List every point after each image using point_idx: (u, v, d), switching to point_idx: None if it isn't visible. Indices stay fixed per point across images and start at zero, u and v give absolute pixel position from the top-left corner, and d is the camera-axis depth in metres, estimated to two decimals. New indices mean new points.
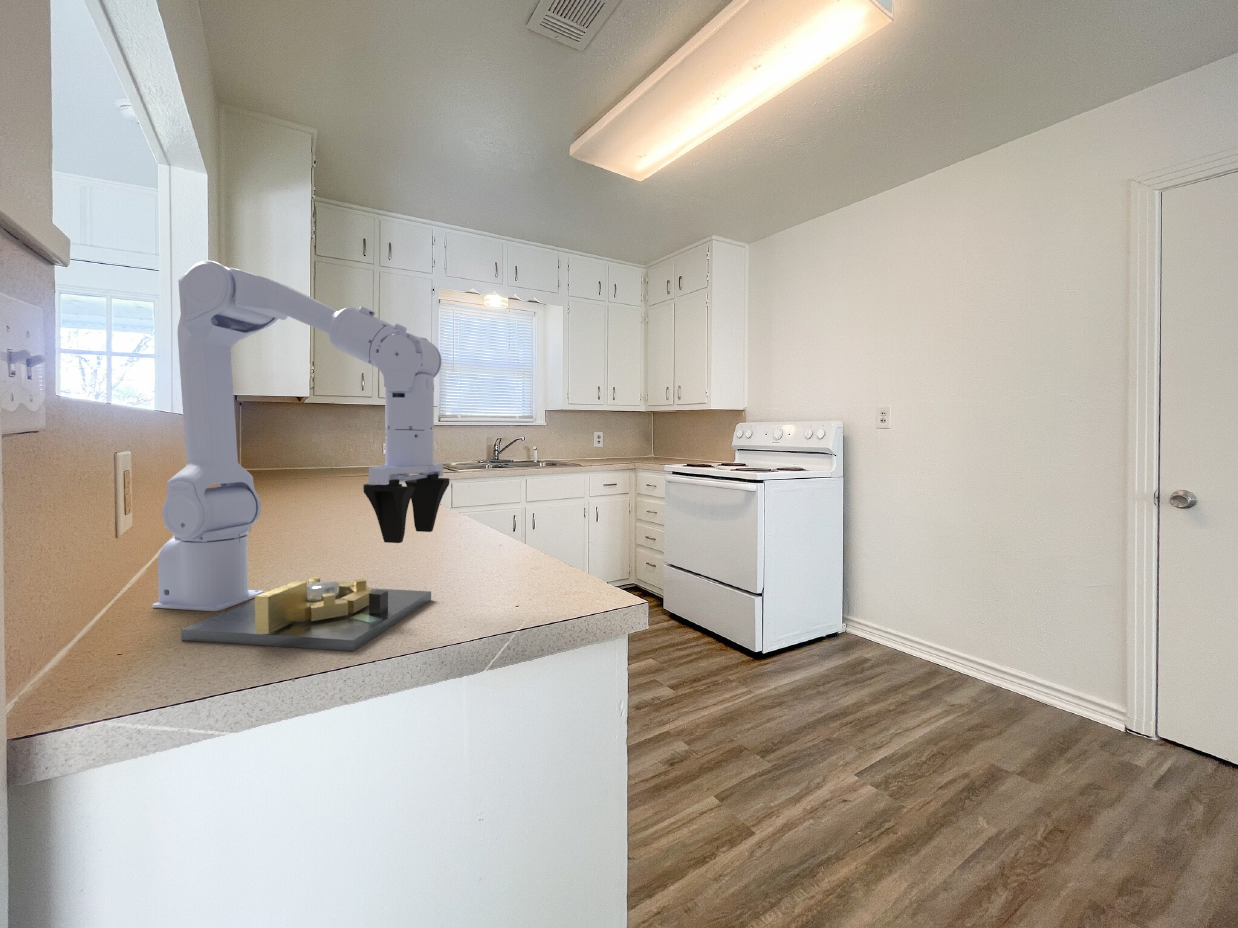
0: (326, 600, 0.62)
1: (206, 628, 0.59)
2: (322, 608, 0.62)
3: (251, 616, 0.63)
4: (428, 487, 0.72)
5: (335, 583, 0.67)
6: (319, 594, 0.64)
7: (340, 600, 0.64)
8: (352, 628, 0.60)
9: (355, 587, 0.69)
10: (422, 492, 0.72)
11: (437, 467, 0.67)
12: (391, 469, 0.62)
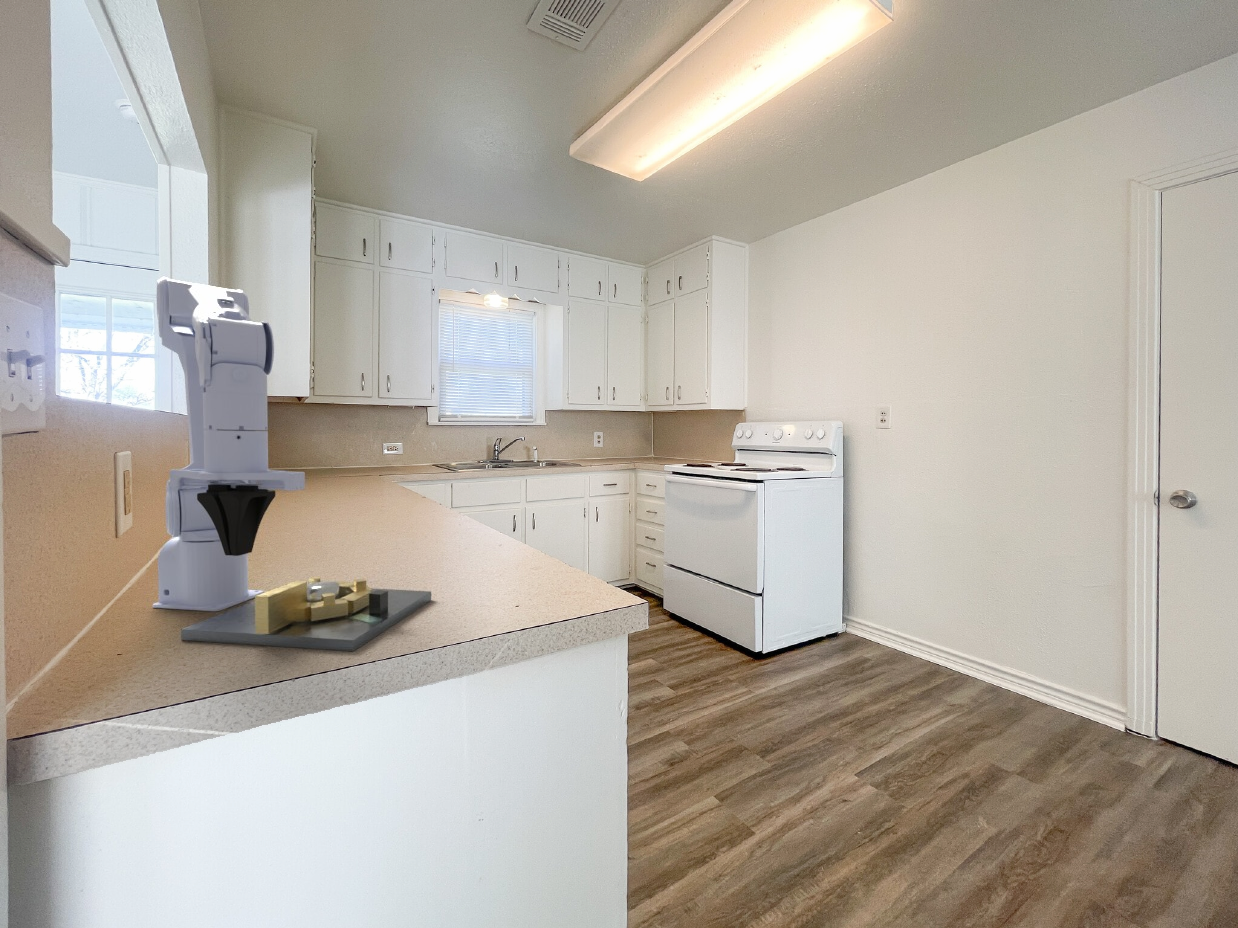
0: (326, 600, 0.62)
1: (206, 628, 0.59)
2: (322, 608, 0.62)
3: (251, 616, 0.63)
4: None
5: (335, 583, 0.67)
6: (319, 594, 0.64)
7: (340, 600, 0.64)
8: (352, 628, 0.60)
9: (355, 587, 0.69)
10: None
11: (201, 474, 0.55)
12: (178, 471, 0.58)
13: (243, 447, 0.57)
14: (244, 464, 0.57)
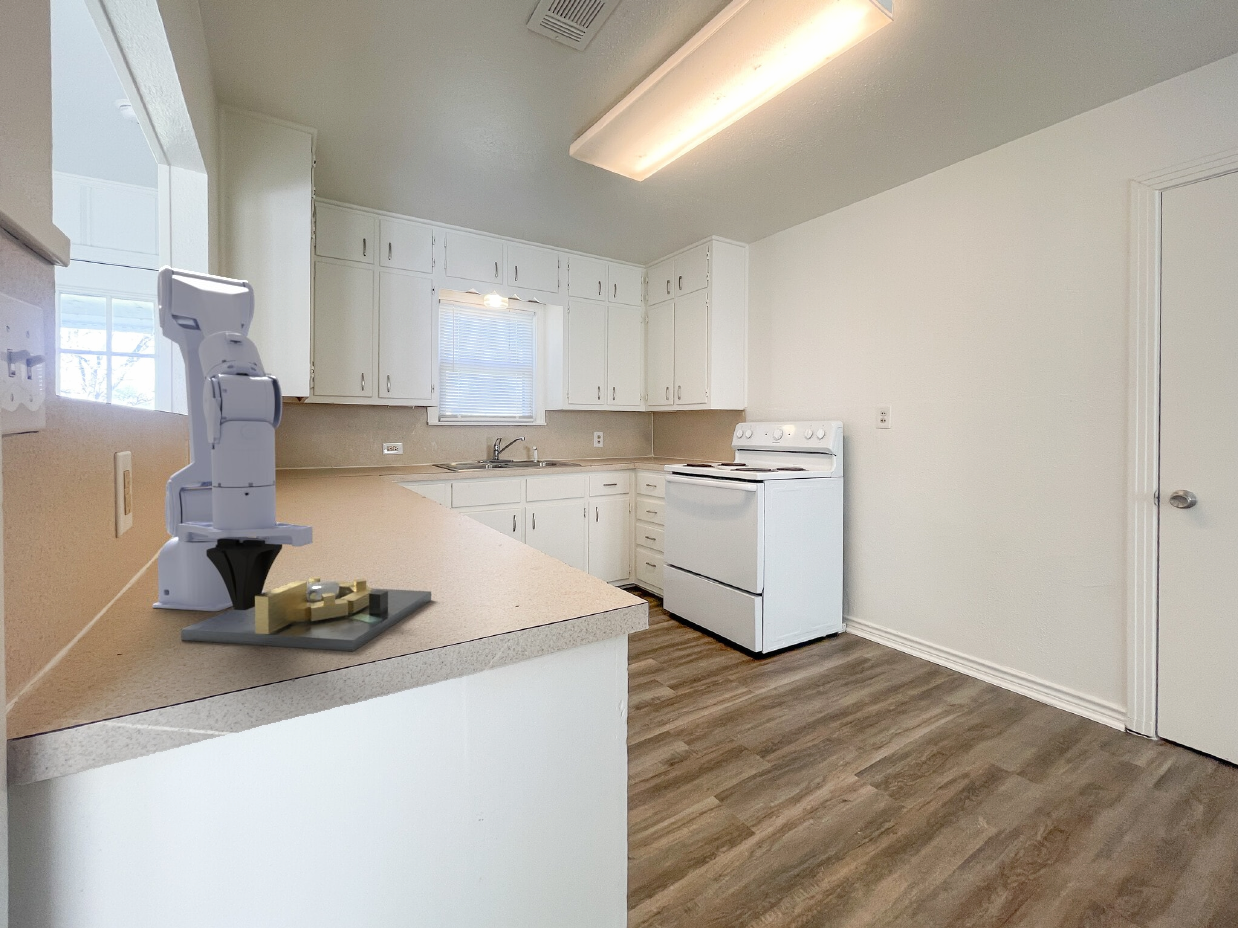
0: (326, 600, 0.62)
1: (206, 628, 0.59)
2: (322, 608, 0.62)
3: (251, 616, 0.63)
4: None
5: (335, 583, 0.67)
6: (319, 594, 0.64)
7: (340, 600, 0.64)
8: (352, 628, 0.60)
9: (355, 587, 0.69)
10: None
11: (209, 533, 0.55)
12: (186, 526, 0.59)
13: (251, 503, 0.57)
14: (252, 520, 0.57)
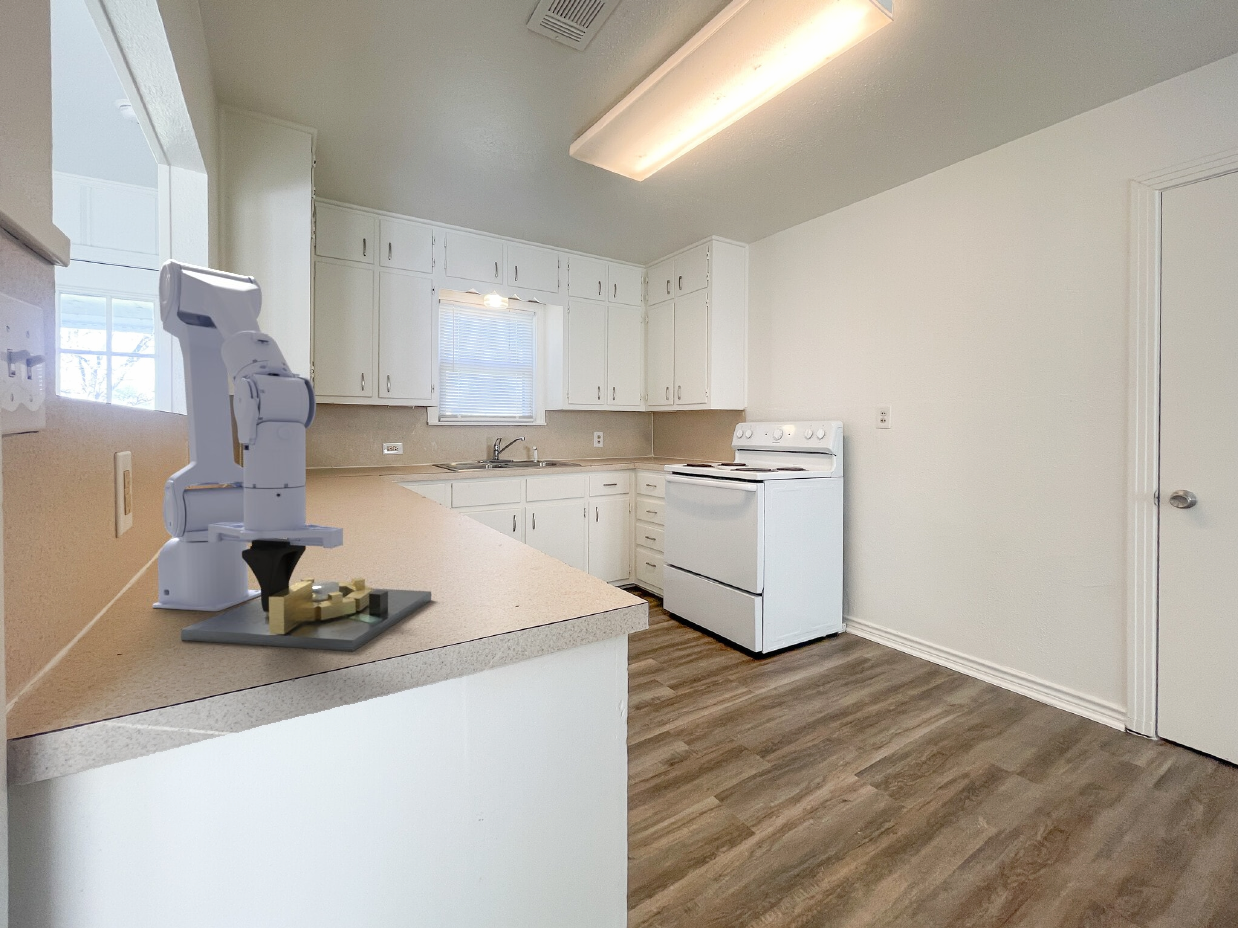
0: (334, 599, 0.63)
1: (206, 628, 0.59)
2: (332, 606, 0.62)
3: (251, 616, 0.63)
4: None
5: (335, 583, 0.67)
6: (319, 594, 0.64)
7: (346, 598, 0.64)
8: (352, 628, 0.60)
9: (354, 586, 0.69)
10: None
11: (242, 534, 0.55)
12: (216, 527, 0.58)
13: (283, 505, 0.57)
14: (284, 521, 0.57)
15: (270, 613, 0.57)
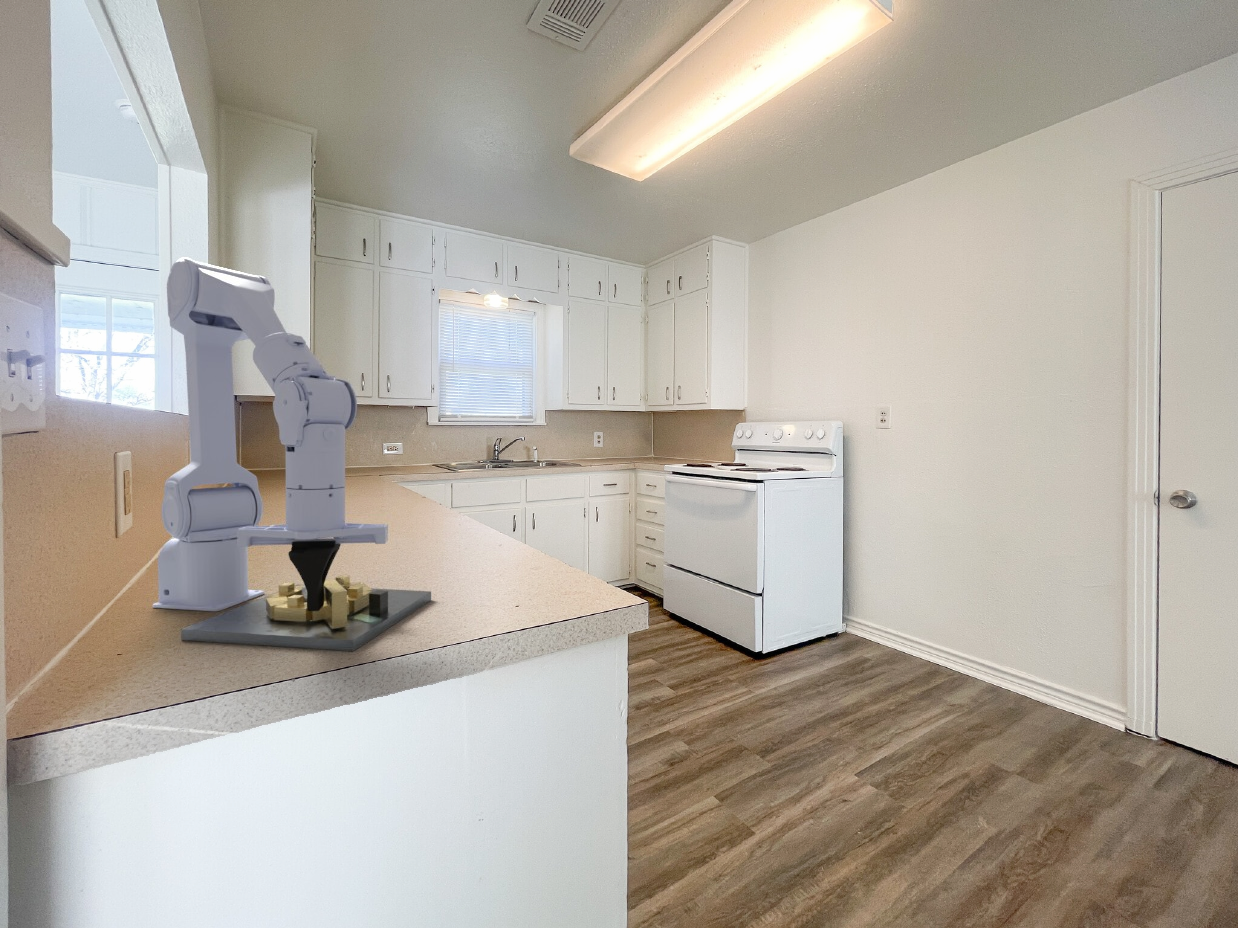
0: (358, 592, 0.66)
1: (206, 628, 0.59)
2: (359, 599, 0.65)
3: (251, 616, 0.63)
4: None
5: None
6: None
7: None
8: (352, 628, 0.60)
9: (341, 583, 0.70)
10: None
11: (299, 535, 0.55)
12: (249, 531, 0.57)
13: (334, 504, 0.58)
14: (335, 521, 0.58)
15: (333, 608, 0.59)
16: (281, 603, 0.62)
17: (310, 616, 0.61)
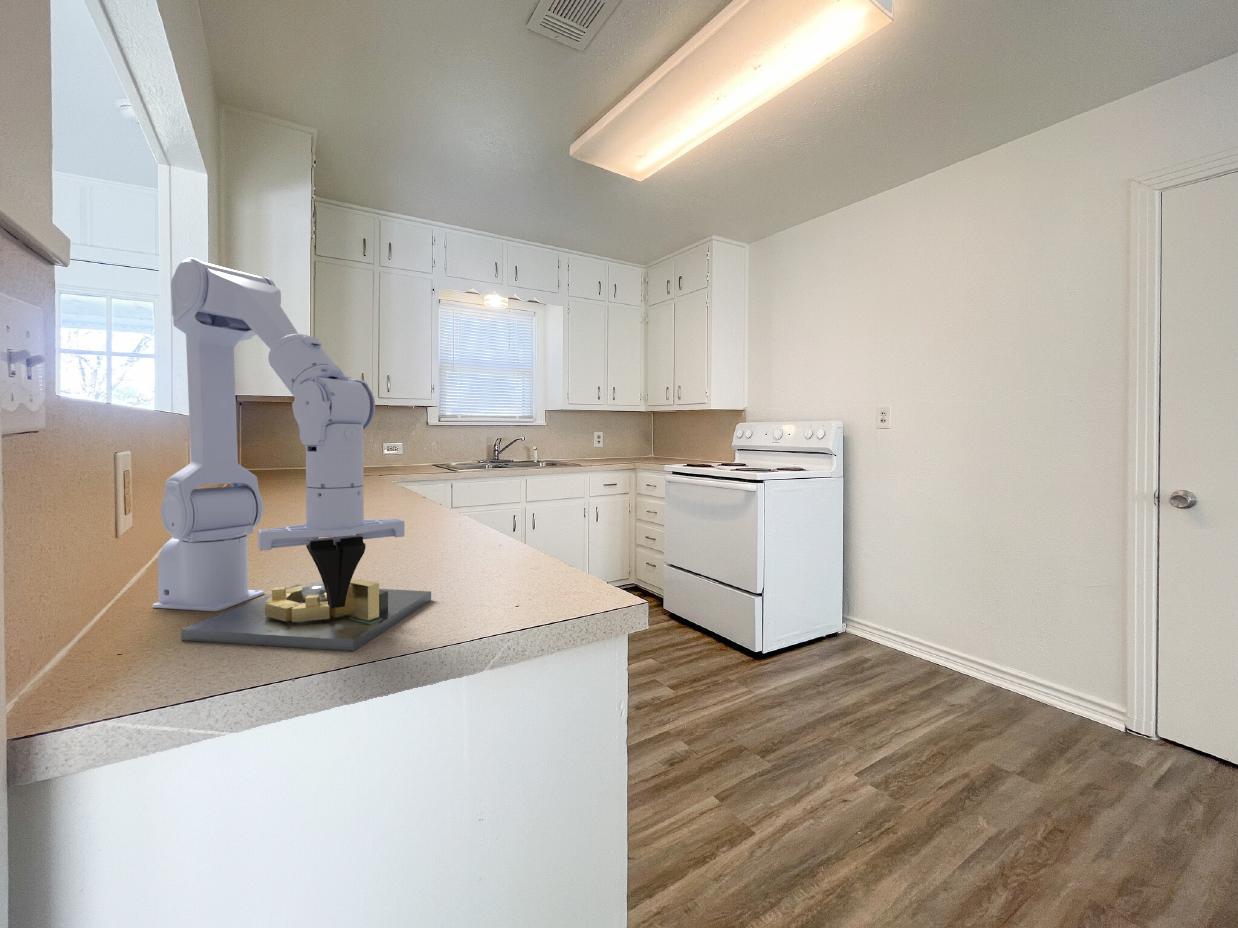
0: None
1: (206, 628, 0.59)
2: None
3: (251, 616, 0.63)
4: (339, 553, 0.60)
5: None
6: (319, 594, 0.64)
7: None
8: (352, 628, 0.60)
9: None
10: None
11: (338, 532, 0.57)
12: (273, 533, 0.56)
13: (361, 502, 0.60)
14: (361, 517, 0.61)
15: (368, 601, 0.61)
16: (294, 605, 0.62)
17: (331, 613, 0.62)
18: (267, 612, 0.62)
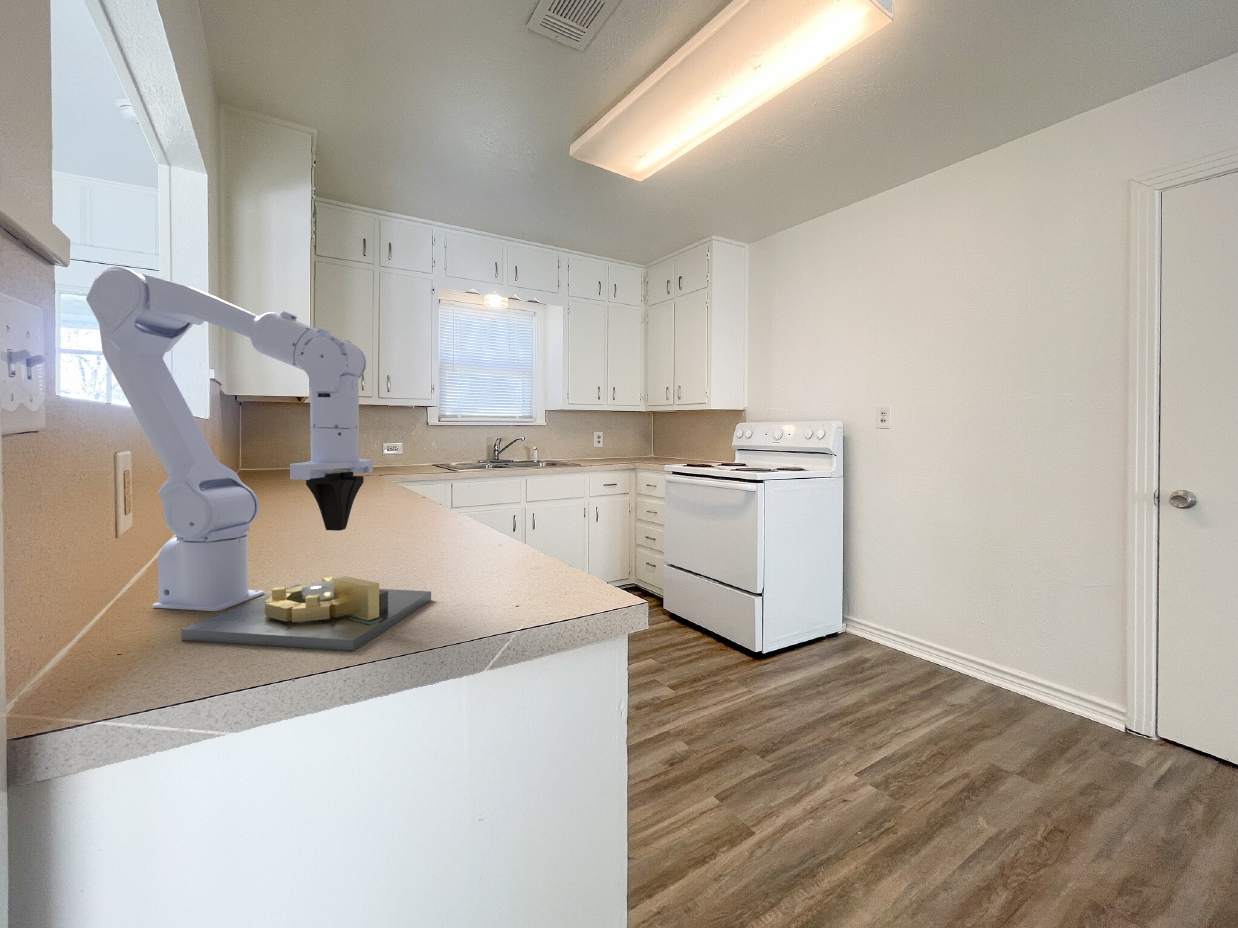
0: None
1: (206, 628, 0.59)
2: None
3: (251, 616, 0.63)
4: None
5: None
6: None
7: None
8: (352, 628, 0.60)
9: None
10: None
11: (361, 463, 0.71)
12: (312, 465, 0.66)
13: None
14: None
15: (368, 601, 0.61)
16: (294, 605, 0.62)
17: (331, 613, 0.62)
18: (267, 612, 0.62)
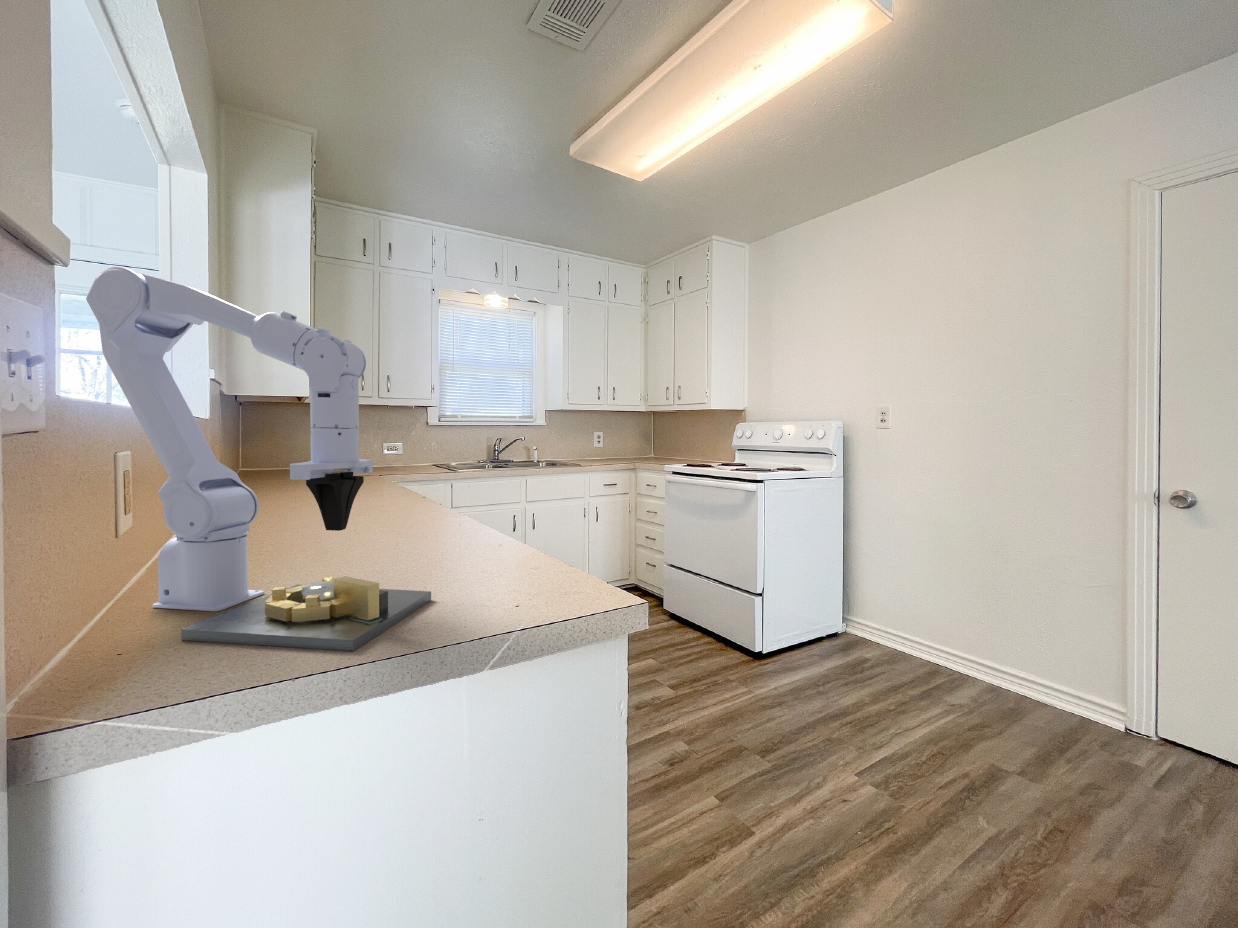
0: None
1: (206, 628, 0.59)
2: None
3: (251, 616, 0.63)
4: None
5: None
6: None
7: None
8: (352, 628, 0.60)
9: None
10: None
11: (361, 463, 0.71)
12: (312, 465, 0.66)
13: None
14: None
15: (368, 601, 0.61)
16: (294, 605, 0.62)
17: (331, 613, 0.62)
18: (267, 612, 0.62)
